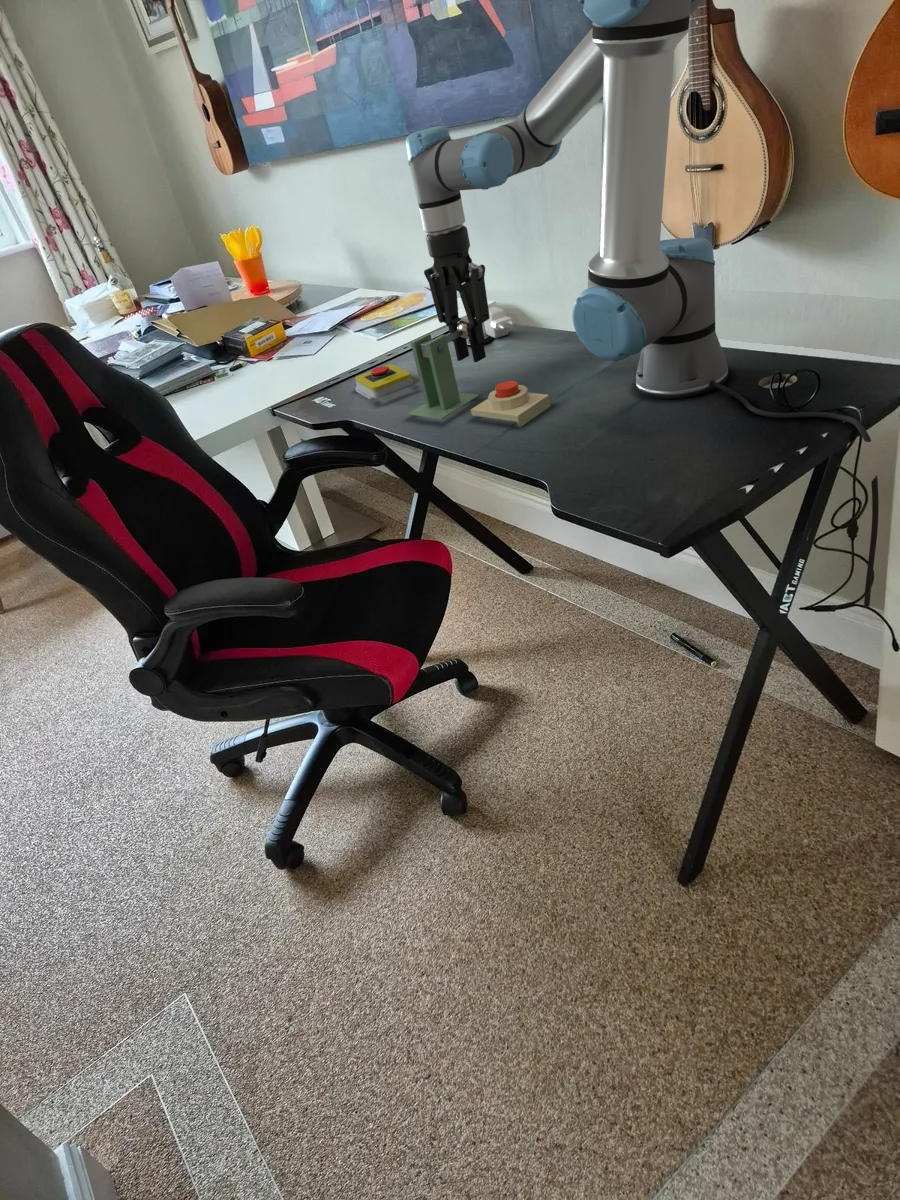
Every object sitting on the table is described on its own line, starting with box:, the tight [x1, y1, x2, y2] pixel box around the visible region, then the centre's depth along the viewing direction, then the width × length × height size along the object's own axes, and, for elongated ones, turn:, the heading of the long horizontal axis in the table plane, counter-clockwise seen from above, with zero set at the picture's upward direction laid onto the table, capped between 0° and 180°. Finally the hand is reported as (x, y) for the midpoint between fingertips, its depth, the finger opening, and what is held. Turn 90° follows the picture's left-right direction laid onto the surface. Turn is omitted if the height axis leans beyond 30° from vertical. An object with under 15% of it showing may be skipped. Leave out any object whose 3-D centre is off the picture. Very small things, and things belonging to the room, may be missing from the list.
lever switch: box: [420, 318, 470, 358], centre depth 144 cm, size 13×4×4 cm, turn 137°
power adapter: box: [483, 306, 517, 339], centre depth 176 cm, size 11×5×6 cm, turn 22°
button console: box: [470, 384, 552, 428], centre depth 139 cm, size 11×9×4 cm
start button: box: [494, 380, 519, 398], centre depth 137 cm, size 4×4×2 cm
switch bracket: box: [407, 333, 480, 420], centre depth 145 cm, size 11×9×14 cm
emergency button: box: [355, 363, 414, 400], centre depth 164 cm, size 9×4×15 cm
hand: (471, 358), depth 150 cm, fingers closed on lever switch, 4 cm apart
